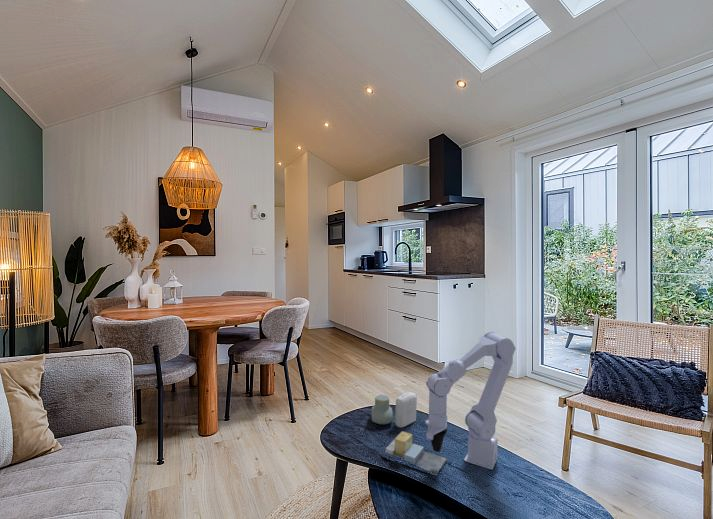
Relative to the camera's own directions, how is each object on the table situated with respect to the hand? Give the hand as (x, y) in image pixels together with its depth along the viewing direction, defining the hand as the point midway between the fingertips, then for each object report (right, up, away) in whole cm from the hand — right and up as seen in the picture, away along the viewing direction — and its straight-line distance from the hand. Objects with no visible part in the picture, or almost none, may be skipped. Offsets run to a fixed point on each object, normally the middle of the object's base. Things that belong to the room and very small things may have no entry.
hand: (436, 450), depth 132 cm
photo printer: (-7, -4, +30) cm, 31 cm away
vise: (-7, -5, +5) cm, 10 cm away
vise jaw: (-7, -4, +5) cm, 9 cm away
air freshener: (-16, -3, +31) cm, 36 cm away
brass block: (-10, -4, +7) cm, 13 cm away
